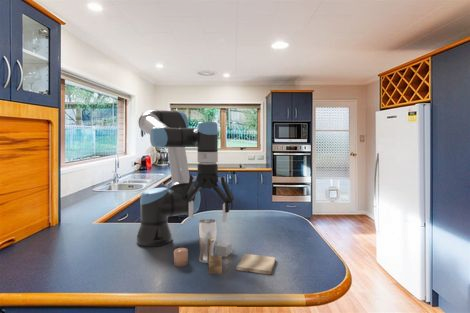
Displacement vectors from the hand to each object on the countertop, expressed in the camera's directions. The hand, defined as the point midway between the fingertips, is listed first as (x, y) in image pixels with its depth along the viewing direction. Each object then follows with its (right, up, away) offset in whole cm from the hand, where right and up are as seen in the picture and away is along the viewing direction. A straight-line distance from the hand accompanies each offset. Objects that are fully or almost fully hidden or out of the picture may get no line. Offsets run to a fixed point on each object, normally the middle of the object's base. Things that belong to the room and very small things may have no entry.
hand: (207, 219), depth 108 cm
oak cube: (+3, -16, -8) cm, 18 cm away
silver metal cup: (0, -16, +1) cm, 16 cm away
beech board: (+18, -16, -3) cm, 24 cm away
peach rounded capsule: (-10, -16, -2) cm, 18 cm away
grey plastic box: (+6, -15, +7) cm, 18 cm away
